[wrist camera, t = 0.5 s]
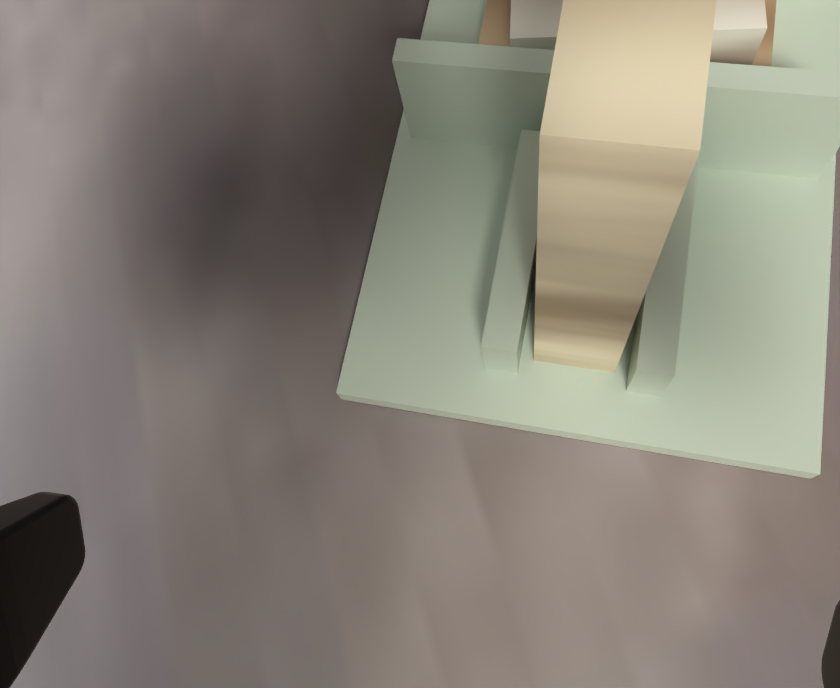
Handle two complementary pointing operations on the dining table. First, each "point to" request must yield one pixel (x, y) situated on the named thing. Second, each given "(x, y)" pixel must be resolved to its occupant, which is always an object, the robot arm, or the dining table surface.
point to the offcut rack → (671, 280)
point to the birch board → (613, 166)
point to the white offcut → (731, 42)
